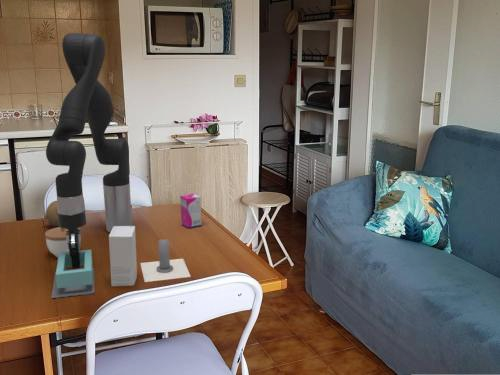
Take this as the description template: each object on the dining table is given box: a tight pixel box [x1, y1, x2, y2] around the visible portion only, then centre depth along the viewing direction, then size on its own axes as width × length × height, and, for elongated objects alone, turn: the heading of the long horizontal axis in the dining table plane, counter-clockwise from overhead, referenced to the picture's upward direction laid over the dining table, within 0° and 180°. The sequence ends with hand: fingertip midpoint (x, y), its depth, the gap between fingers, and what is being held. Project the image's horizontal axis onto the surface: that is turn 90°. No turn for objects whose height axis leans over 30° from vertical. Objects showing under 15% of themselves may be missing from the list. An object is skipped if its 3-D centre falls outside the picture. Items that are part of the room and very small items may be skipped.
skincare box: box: [108, 225, 138, 287], centre depth 147 cm, size 8×7×16 cm
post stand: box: [140, 238, 191, 283], centre depth 155 cm, size 14×13×10 cm
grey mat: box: [50, 266, 96, 300], centre depth 149 cm, size 18×12×1 cm, turn 16°
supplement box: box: [179, 193, 202, 229], centre depth 196 cm, size 6×6×12 cm
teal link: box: [55, 249, 93, 288], centre depth 148 cm, size 16×9×4 cm, turn 16°
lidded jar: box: [44, 226, 82, 258], centre depth 169 cm, size 11×11×9 cm
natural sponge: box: [44, 200, 59, 228], centre depth 195 cm, size 9×9×10 cm
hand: (76, 265), depth 156 cm, fingers closed on teal link
